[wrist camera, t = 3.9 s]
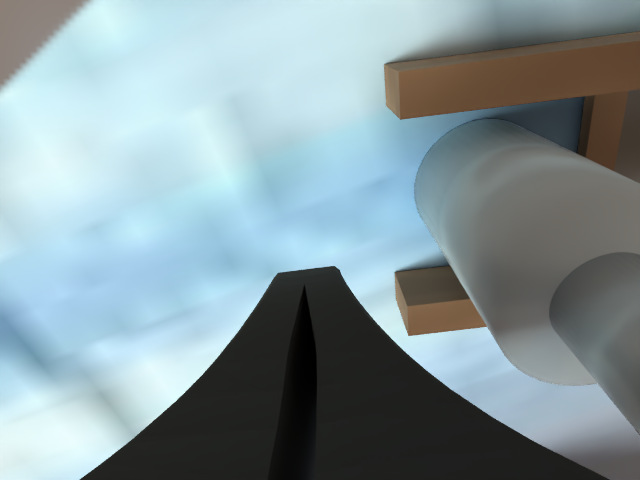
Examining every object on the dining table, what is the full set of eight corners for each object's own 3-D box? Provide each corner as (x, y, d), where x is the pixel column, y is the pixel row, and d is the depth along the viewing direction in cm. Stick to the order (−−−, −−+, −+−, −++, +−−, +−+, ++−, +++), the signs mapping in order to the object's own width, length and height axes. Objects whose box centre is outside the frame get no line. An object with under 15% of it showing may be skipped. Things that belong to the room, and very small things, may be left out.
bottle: (537, 235, 16) (882, 547, 6) (415, 250, 16) (579, 579, 7) (551, 110, 14) (1072, 295, 5) (412, 128, 14) (638, 345, 5)
